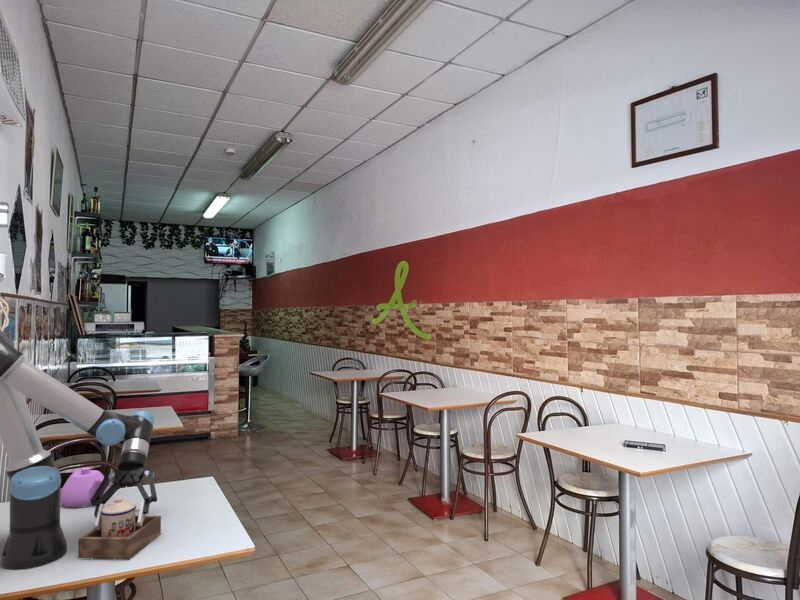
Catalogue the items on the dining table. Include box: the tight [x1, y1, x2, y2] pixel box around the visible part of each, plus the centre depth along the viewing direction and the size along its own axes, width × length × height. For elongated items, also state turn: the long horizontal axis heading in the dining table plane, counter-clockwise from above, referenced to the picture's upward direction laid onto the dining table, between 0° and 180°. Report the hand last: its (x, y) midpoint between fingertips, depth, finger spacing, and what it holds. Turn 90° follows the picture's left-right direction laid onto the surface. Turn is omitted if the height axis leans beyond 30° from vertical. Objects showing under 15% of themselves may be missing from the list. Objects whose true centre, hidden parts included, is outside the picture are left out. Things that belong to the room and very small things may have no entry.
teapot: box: [60, 466, 110, 508], centre depth 197 cm, size 22×16×12 cm
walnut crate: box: [77, 515, 162, 561], centre depth 158 cm, size 14×17×6 cm
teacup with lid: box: [101, 496, 147, 537], centre depth 158 cm, size 12×9×12 cm
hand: (118, 526), depth 155 cm, fingers open, 10 cm apart
